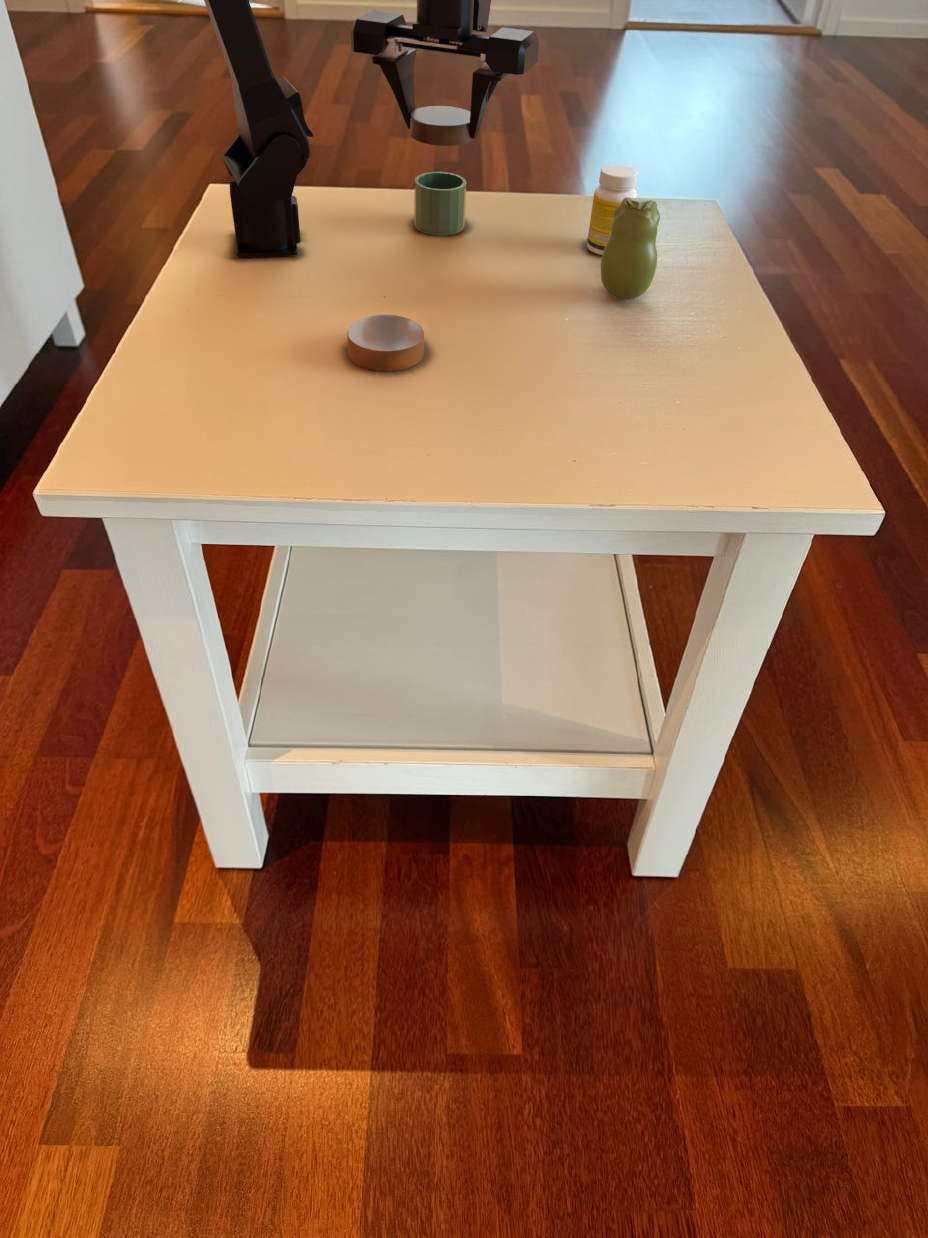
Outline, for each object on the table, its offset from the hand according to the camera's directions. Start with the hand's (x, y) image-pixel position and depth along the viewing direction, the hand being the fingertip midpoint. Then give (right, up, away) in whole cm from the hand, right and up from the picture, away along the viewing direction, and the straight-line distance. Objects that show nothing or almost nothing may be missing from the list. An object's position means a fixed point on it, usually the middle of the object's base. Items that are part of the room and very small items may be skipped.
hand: (442, 132), depth 100 cm
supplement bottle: (+19, -11, +5) cm, 22 cm away
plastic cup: (-1, -7, +7) cm, 10 cm away
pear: (+19, -19, -4) cm, 27 cm away
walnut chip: (0, 0, 0) cm, 0 cm away
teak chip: (-5, -28, -15) cm, 32 cm away
